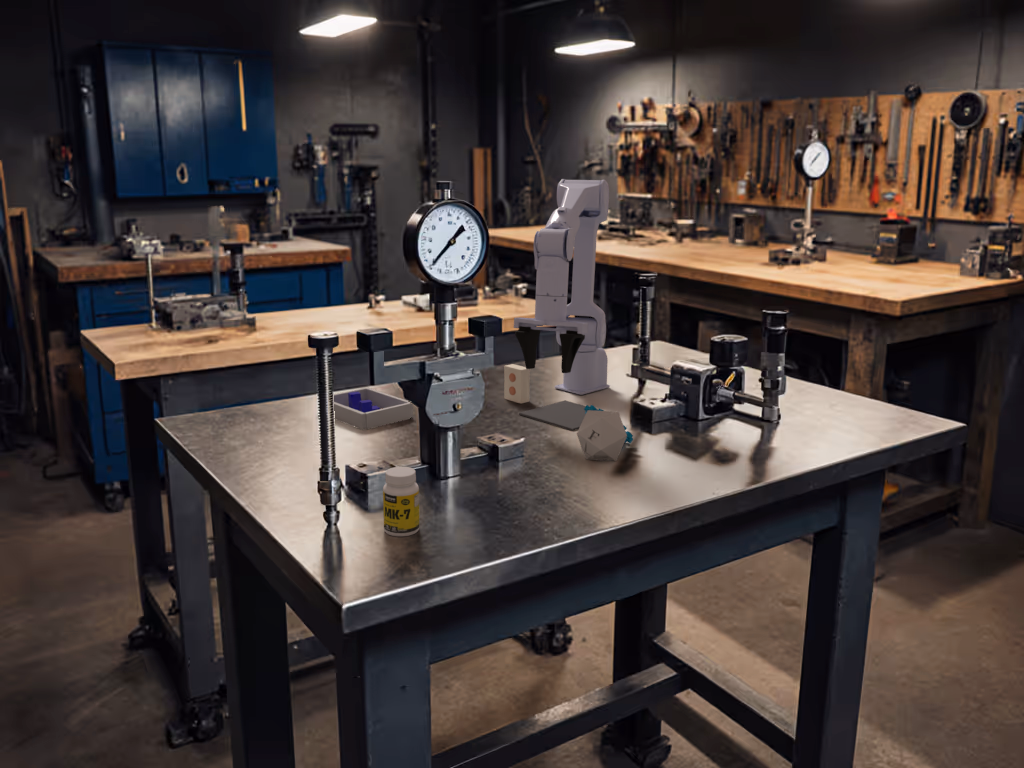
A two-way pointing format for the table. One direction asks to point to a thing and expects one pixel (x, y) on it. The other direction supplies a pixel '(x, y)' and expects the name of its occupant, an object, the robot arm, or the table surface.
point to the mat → (559, 414)
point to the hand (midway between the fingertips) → (548, 370)
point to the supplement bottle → (401, 502)
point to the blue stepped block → (360, 403)
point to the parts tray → (390, 413)
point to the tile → (516, 383)
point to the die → (601, 435)
